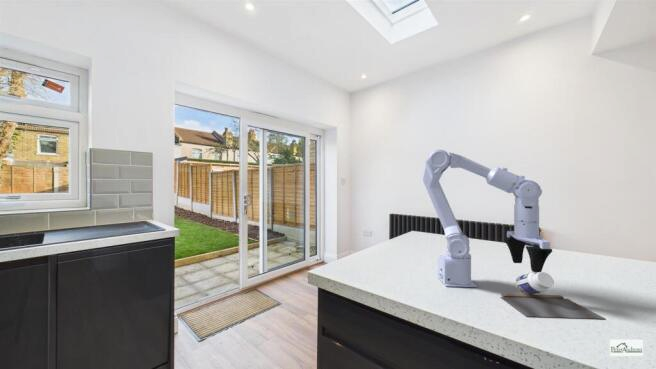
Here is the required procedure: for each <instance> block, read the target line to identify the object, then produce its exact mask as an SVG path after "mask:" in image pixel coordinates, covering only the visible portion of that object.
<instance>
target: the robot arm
mask: <svg viewBox="0 0 656 369" xmlns="http://www.w3.org/2000/svg"><path fill="white" fill-rule="evenodd" d="M449 167H450V168H451V169H458V168H459V169H463V170H466V171H467V172H470V173H473V174H475V175H477V176H479V177H482V178H484V179H486V182H487V185H489V186H491V187H493V188H497V189H499V190H501V191H503V192H506V193H507V194H513V196H514V207H513V208H514V210H513V211H514V212H513V214H514V215H513V216H514V217H513V218H514V219H513V220H514V221H513V222H514V223H513V225H514V226H513V230H507V231H506V238H504V242H505V244H506V246H507V247H508V250H509V253H510V255H511V260H512V263H514V264H522V263H523V257H524V250H525V249H526V251H527V253H528V257H529V262H530V263H529V264H530V270H531V272H543V268H544V265H545V262H546V261H547V259H548V257H549V256H550V255H551V253H553V249H552V248H551V241H550V240H546V239H544V238H543V236H542V235H540V205H539V202H540V200H539V199H540V197H541V196H542V194H543V190H542V188H541V186H540V185H539V183H537V182H536V181H534V180H531V179H525V178H526V176H524V175H518V174H515V173H513V172H510V171H508V168H505V167H502V168H500V167H495V168H489V167H487V166H485V165H482V164H481V163H478V162H476V161H474V160H472V159H469V158H467V157H466V156H463V155H461V154H457V153H454V152H450V151H448V152H447V151H446V150H444V149H435V150H433V151H432V152H431V153H430V154H429V156H428V158H427V159H426V161H425V168H424V173H423V177H422V181H423V184H424V186H425V189H426V191H427V193H428V195H429V198H430V200H431V203H432V206H433V207H434V209H435V212H436V214H437V216H438V219H439V221H440V225H441V226H442V228H443V231H444V232H443V233H444V236H445V239H446V241H447V245H446V249H447V251H446V252H445V254H440V255H439V256H438V258H437V260H438V261H437V276H436V277H437V279H439V280H440V282H442V284H443V285H444V286H445V287H452V288H453V287H455V288H456V287H458V288H460V287H461V288H462V287H463V288H477V287H478V285H477V284H475V283H474V282H473V281H472V254H470V250H471V249H470V248H471V247H470V239H469V238H468V236H467V235H465V234H464V233H463V231H462V229H461V227H460V225H459V224H458V222H457V219H456V217H455V215H454V212H453V210H452V208H451V205H450V203H449V200H448V198H447V197H446V194H445V192H444V189H443V187H442V185H441V183H440V179H441V177H442V175H443V174H444V173H445V171H446V170H448V168H449ZM526 244H528V245H526ZM529 244H530V245H529ZM531 245H532V246H531Z"/></svg>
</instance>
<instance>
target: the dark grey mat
mask: <svg viewBox="0 0 656 369" xmlns="http://www.w3.org/2000/svg"><path fill="white" fill-rule="evenodd" d="M500 294H501V296H500V299H502V300H503V301H504V302H506V303H507V304H508V305H510V306H511V307H512V308H514V309H515V310H516V311H518V312H519V313H520V314H522V315H523V316H524V317H526V318H546V319H547V318H549V319H551V318H552V319H576V320H577V319H579V320H580V319H581V320H606V317H603V316H601V315H599V314H598V313H596V312H594V311H592V310H590V309H588V308H586V307H585V306H583V305H581V304H579V303H576V302H575V301H573V300H571V299H569V298H565V297H564V296H562V295H557V294H532V295H530V294H524V293H522V294H521V293H500Z"/></svg>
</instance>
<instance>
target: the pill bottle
mask: <svg viewBox="0 0 656 369" xmlns="http://www.w3.org/2000/svg"><path fill="white" fill-rule="evenodd" d="M554 284H555V280H554V278H553V277H552V275H550V274H549V273H547V272H545V271H541V272H532V271H531V272H528V273H525V274H522V275H520V276H518V277H516V279H515V286H516V289H517V290H518V291H519V292H520V293H522V294H530V295H537V294H541V293H544V292H547V291H548V290H549V288H552V287H553V286H554Z"/></svg>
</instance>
